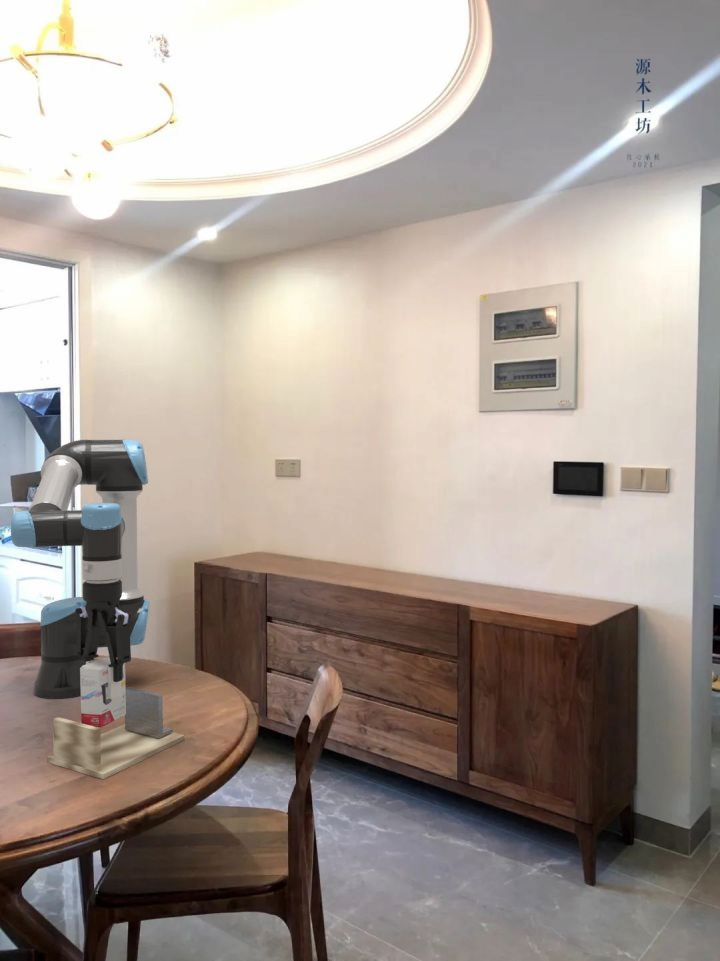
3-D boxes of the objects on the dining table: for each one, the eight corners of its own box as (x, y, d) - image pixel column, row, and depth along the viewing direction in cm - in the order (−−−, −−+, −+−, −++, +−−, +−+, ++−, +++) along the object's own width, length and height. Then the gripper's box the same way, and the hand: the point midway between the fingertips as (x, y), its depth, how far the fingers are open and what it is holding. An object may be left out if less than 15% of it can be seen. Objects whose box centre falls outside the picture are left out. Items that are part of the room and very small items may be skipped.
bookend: (124, 729, 161) (124, 688, 161) (139, 723, 165) (139, 683, 165) (158, 738, 156) (158, 696, 156) (172, 731, 160) (172, 690, 160)
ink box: (100, 729, 145) (100, 669, 144) (78, 726, 146) (78, 667, 146) (127, 714, 153) (127, 658, 153) (106, 711, 155) (106, 655, 154)
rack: (46, 761, 148) (46, 717, 147) (130, 726, 167) (130, 686, 166) (102, 779, 140) (102, 732, 139) (184, 739, 159) (184, 698, 159)
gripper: (55, 579, 150) (57, 692, 151) (120, 587, 141) (122, 707, 142) (85, 573, 157) (87, 682, 157) (150, 581, 147) (151, 696, 148)
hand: (103, 694), depth 150 cm, fingers closed on ink box, 6 cm apart
